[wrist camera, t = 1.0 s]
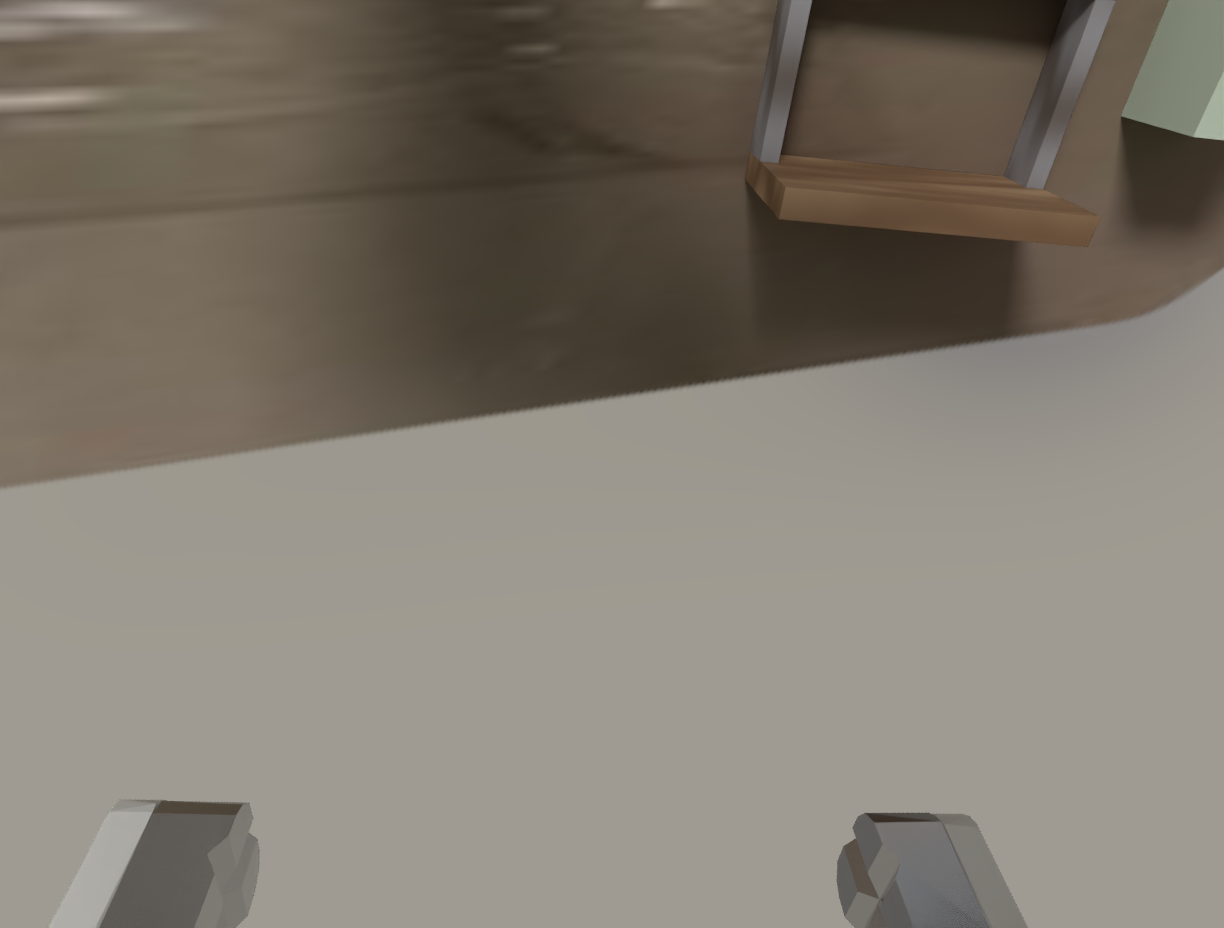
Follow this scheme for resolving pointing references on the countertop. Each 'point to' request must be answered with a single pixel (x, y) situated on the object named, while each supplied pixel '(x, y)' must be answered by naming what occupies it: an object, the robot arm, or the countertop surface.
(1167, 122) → the cabinet block
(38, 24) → the countertop surface
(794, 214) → the grey and wood frame
